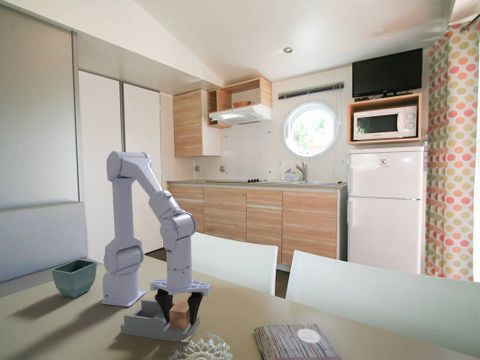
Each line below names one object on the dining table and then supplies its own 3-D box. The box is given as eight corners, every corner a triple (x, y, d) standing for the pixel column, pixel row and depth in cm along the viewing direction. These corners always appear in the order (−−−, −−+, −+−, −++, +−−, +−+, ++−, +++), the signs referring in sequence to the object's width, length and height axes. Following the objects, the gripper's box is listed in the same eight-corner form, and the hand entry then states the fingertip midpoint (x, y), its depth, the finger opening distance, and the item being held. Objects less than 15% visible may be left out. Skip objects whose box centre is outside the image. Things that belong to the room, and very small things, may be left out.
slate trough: (121, 333, 57) (120, 315, 57) (139, 315, 64) (138, 299, 63) (187, 343, 53) (187, 323, 53) (199, 323, 60) (199, 305, 60)
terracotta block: (169, 327, 56) (169, 310, 55) (178, 316, 60) (177, 301, 59) (185, 329, 55) (185, 312, 55) (193, 318, 59) (192, 302, 58)
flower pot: (72, 303, 70) (71, 273, 70) (52, 298, 73) (50, 269, 73) (99, 288, 79) (97, 261, 78) (79, 284, 81) (78, 258, 81)
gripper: (141, 270, 54) (144, 328, 55) (202, 275, 51) (204, 336, 52) (158, 258, 61) (160, 310, 62) (212, 262, 58) (214, 316, 59)
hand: (181, 321), depth 57 cm, fingers open, 6 cm apart
